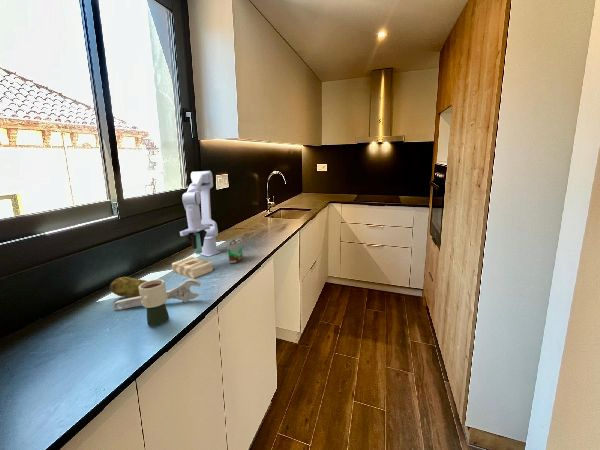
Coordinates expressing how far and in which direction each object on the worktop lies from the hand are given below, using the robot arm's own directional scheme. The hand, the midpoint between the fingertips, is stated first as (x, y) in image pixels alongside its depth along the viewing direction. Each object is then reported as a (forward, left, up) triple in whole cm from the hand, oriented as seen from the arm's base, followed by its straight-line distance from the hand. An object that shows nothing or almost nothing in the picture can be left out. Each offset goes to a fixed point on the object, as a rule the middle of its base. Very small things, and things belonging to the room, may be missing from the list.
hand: (198, 247), depth 132 cm
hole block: (0, -4, -10) cm, 11 cm away
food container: (+9, +16, -10) cm, 21 cm away
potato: (+2, -31, -10) cm, 33 cm away
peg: (0, 0, -3) cm, 3 cm away
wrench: (+18, -29, -10) cm, 36 cm away
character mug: (+29, -35, -10) cm, 47 cm away
